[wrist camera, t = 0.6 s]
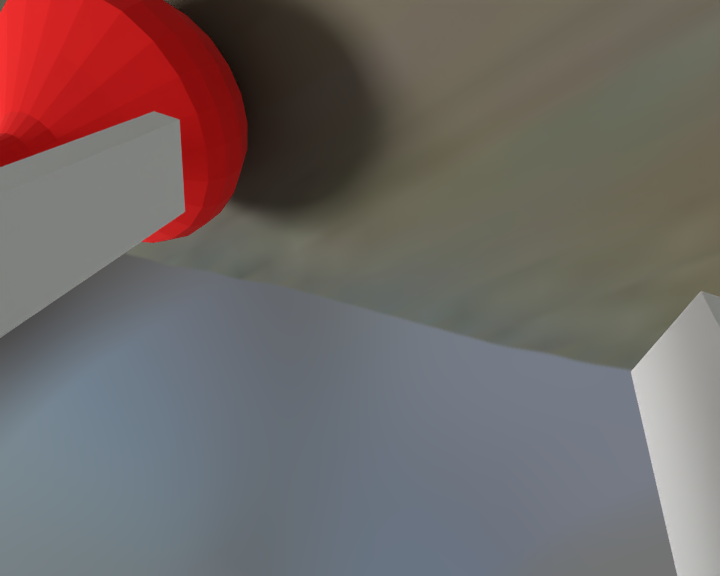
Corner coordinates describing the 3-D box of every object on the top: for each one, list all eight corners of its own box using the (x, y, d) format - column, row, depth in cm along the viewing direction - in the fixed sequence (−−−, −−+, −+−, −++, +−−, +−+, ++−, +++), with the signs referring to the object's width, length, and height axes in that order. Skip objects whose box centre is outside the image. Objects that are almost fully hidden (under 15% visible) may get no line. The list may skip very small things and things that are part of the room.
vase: (151, 207, 47) (-30, 315, 32) (56, 4, 38) (-261, 22, 23) (306, 193, 40) (168, 321, 25) (236, -59, 31) (-48, -93, 16)
